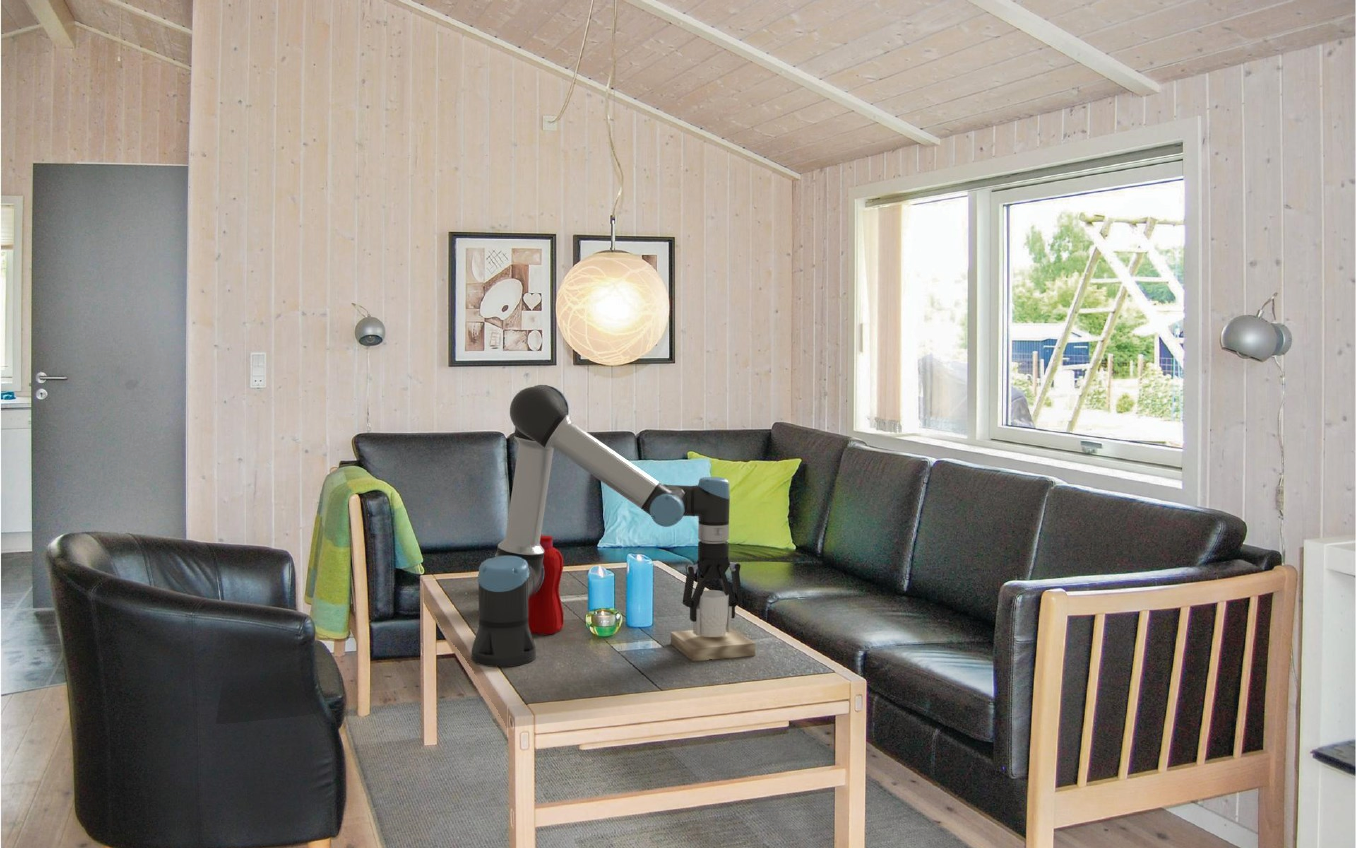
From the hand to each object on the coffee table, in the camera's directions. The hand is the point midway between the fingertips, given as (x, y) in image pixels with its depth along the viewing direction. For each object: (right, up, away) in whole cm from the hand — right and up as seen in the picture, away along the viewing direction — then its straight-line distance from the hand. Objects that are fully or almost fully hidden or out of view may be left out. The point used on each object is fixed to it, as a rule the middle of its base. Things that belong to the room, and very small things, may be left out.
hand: (712, 632), depth 273 cm
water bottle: (-43, -3, +17) cm, 46 cm away
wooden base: (0, -4, 0) cm, 4 cm away
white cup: (0, 0, 0) cm, 0 cm away
